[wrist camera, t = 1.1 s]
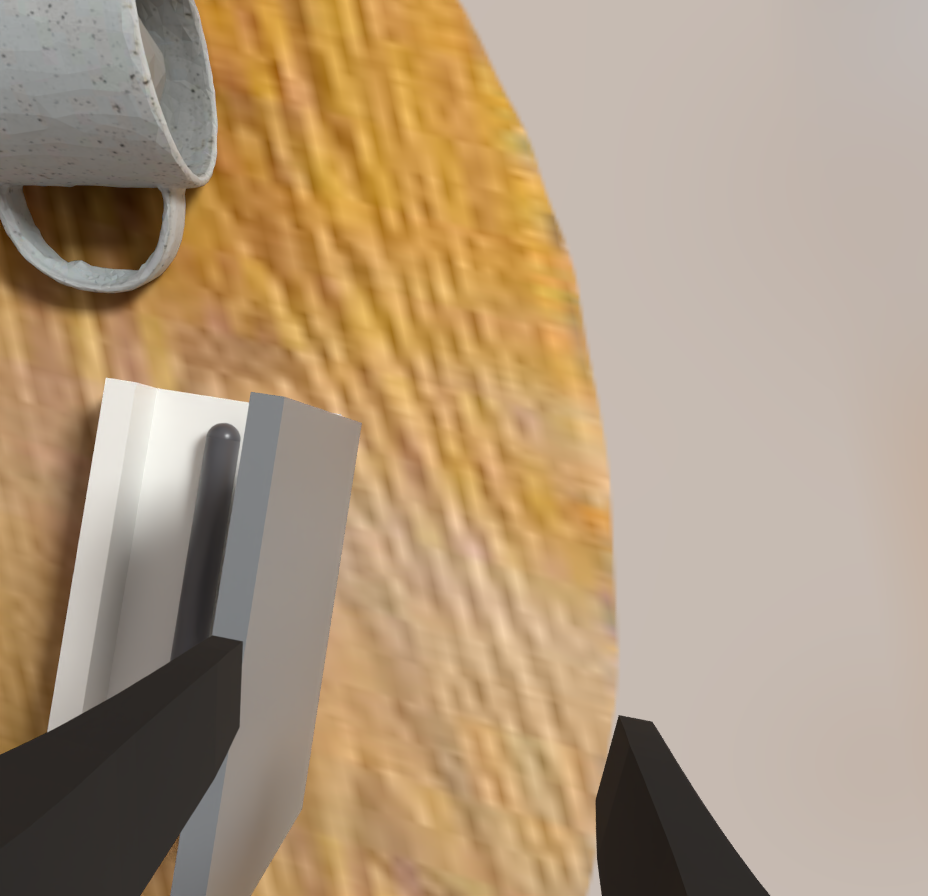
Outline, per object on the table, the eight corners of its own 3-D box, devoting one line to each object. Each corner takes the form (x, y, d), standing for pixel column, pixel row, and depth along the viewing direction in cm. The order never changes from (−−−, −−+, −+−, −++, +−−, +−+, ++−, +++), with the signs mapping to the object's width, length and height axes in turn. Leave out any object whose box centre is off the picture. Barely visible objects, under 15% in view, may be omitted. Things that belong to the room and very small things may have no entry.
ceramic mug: (-16, 22, 24) (-207, -175, 16) (211, 20, 25) (130, -168, 17) (11, 306, 24) (-166, 243, 16) (235, 293, 25) (166, 228, 17)
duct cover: (279, 805, 22) (301, 809, 22) (155, 992, 14) (189, 999, 14) (339, 419, 23) (361, 423, 23) (251, 392, 15) (284, 396, 15)
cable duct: (290, 773, 25) (279, 809, 22) (74, 753, 24) (37, 788, 21) (345, 418, 25) (340, 414, 23) (135, 385, 24) (106, 377, 22)
